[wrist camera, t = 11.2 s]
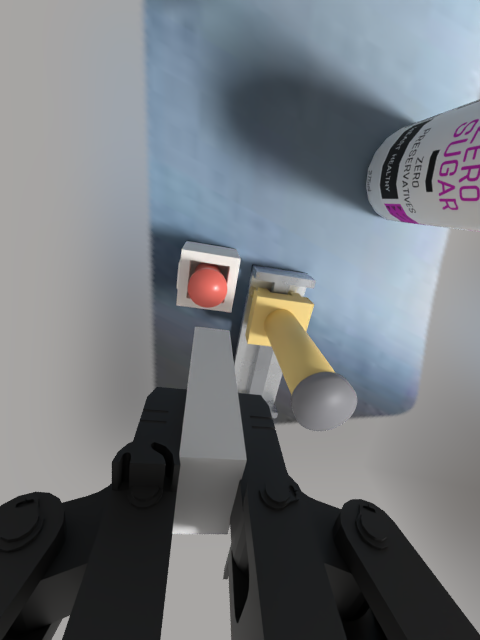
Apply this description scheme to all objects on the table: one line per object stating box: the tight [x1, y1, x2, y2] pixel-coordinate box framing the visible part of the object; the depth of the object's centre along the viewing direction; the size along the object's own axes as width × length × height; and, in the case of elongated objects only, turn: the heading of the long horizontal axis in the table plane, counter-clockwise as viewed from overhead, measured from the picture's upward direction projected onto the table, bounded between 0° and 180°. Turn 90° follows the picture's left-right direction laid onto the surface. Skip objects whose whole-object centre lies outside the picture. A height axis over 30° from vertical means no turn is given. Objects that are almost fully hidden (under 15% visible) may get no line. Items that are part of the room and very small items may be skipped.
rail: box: [234, 265, 316, 418], centre depth 32 cm, size 17×6×3 cm, turn 170°
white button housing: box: [176, 241, 241, 312], centre depth 27 cm, size 5×5×5 cm
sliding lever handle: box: [245, 287, 357, 431], centre depth 23 cm, size 5×6×15 cm
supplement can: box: [366, 99, 480, 232], centre depth 21 cm, size 8×8×15 cm
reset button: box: [188, 262, 227, 308], centre depth 25 cm, size 3×3×5 cm
